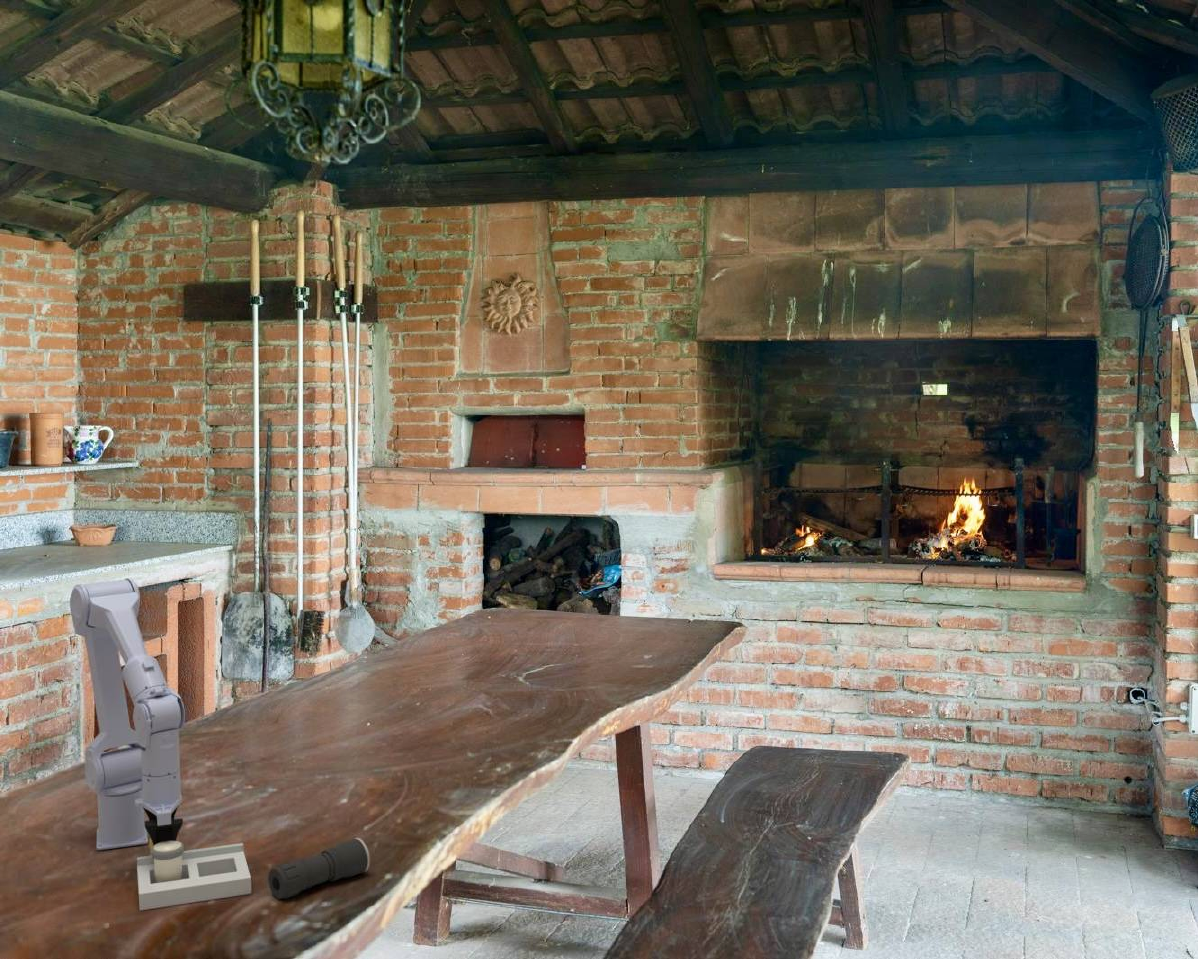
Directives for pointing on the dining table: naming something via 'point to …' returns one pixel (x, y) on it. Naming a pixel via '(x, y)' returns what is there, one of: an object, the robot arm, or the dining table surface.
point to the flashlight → (319, 868)
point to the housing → (196, 877)
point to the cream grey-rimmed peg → (167, 861)
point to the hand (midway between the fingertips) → (163, 854)
